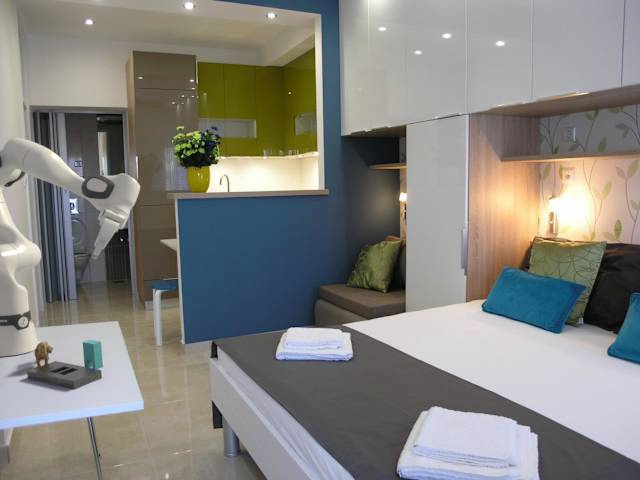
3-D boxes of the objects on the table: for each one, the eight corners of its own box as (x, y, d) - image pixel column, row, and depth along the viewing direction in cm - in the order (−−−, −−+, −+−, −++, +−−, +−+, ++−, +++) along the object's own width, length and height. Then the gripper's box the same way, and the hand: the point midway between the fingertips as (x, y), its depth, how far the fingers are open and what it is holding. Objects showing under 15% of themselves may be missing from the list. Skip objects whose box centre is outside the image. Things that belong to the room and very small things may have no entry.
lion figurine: (55, 368, 183) (53, 341, 182) (37, 372, 180) (35, 344, 179) (48, 357, 195) (46, 331, 194) (31, 360, 193) (29, 334, 191)
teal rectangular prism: (84, 367, 184) (82, 342, 183) (92, 364, 186) (90, 339, 185) (95, 369, 181) (93, 344, 180) (102, 366, 184) (101, 341, 183)
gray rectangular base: (28, 378, 174) (27, 370, 174) (56, 368, 183) (55, 361, 183) (74, 389, 165) (73, 381, 165) (101, 377, 174) (101, 370, 173)
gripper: (100, 220, 198) (83, 256, 193) (105, 209, 179) (87, 248, 175) (118, 228, 200) (101, 263, 196) (125, 217, 182) (106, 256, 177)
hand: (94, 256), depth 185 cm, fingers open, 8 cm apart
